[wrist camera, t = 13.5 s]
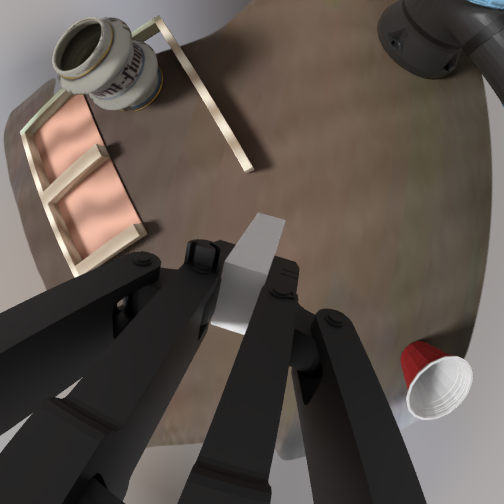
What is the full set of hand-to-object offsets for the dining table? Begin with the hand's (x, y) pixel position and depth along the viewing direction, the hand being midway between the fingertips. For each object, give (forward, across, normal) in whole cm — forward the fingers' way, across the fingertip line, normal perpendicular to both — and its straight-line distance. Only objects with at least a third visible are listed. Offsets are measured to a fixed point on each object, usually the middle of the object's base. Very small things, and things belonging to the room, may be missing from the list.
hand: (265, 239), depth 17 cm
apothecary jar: (+31, -29, +8) cm, 43 cm away
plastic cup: (+24, +28, -21) cm, 43 cm away
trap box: (+28, -29, -2) cm, 40 cm away
